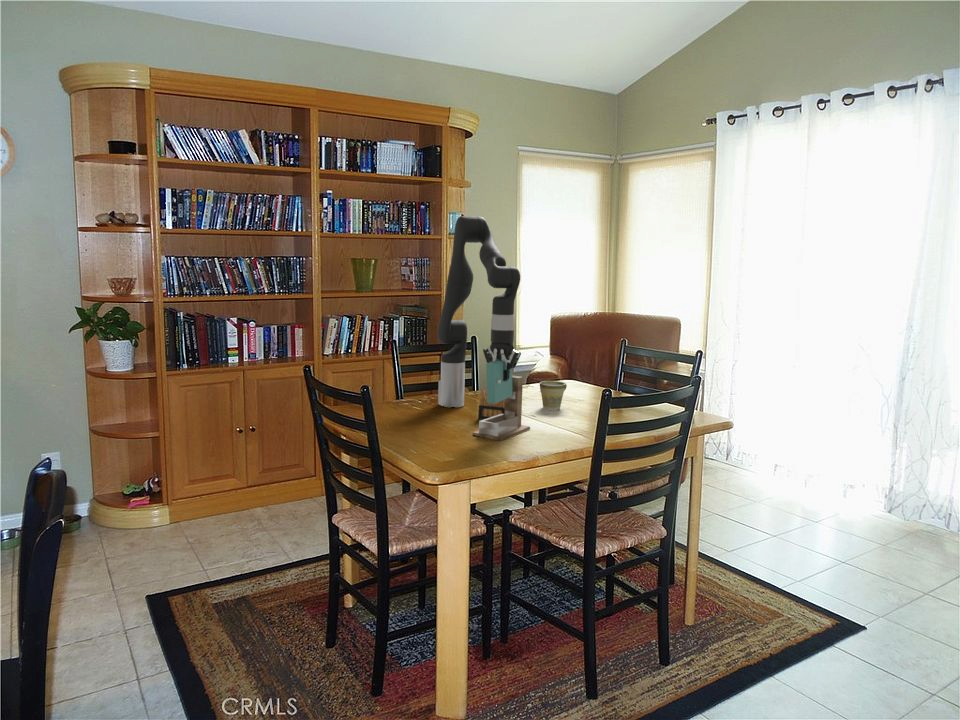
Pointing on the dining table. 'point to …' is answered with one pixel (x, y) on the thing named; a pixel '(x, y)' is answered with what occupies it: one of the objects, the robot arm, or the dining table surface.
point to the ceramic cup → (552, 394)
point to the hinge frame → (505, 417)
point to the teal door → (497, 382)
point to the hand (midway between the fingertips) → (501, 380)
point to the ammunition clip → (489, 406)
